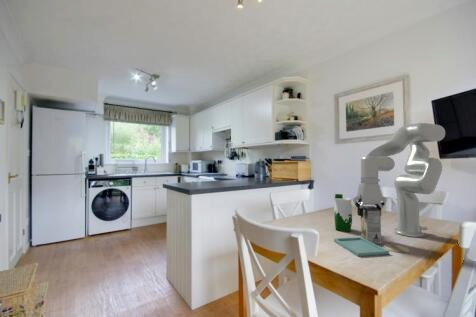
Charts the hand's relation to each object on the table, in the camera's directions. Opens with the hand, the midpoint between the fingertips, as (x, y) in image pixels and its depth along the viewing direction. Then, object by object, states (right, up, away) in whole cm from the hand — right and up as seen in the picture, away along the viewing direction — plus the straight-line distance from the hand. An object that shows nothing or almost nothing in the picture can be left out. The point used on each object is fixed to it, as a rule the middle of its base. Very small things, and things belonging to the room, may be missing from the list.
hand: (369, 215), depth 111 cm
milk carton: (-5, -13, +17) cm, 22 cm away
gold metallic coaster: (+5, -12, -11) cm, 17 cm away
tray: (-10, -12, -10) cm, 18 cm away
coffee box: (+1, -12, 0) cm, 12 cm away
